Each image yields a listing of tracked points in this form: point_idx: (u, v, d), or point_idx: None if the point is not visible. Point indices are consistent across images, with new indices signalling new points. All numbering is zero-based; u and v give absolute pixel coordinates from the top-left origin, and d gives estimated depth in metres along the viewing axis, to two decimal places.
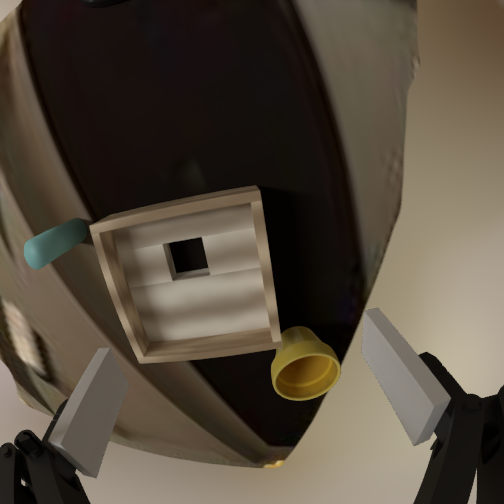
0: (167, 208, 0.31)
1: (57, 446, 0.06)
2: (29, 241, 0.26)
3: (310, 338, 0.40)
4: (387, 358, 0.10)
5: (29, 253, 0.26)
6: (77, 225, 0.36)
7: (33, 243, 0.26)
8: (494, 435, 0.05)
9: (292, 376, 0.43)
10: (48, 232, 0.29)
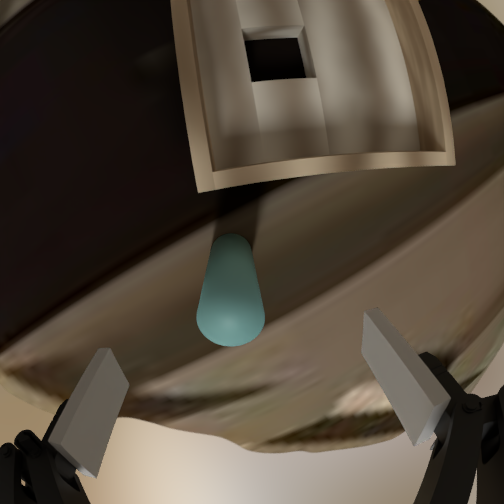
0: (177, 45, 0.15)
1: (57, 446, 0.06)
2: (201, 325, 0.16)
3: None
4: (387, 358, 0.10)
5: (228, 331, 0.16)
6: (216, 245, 0.25)
7: (206, 316, 0.16)
8: (494, 435, 0.05)
9: None
10: None
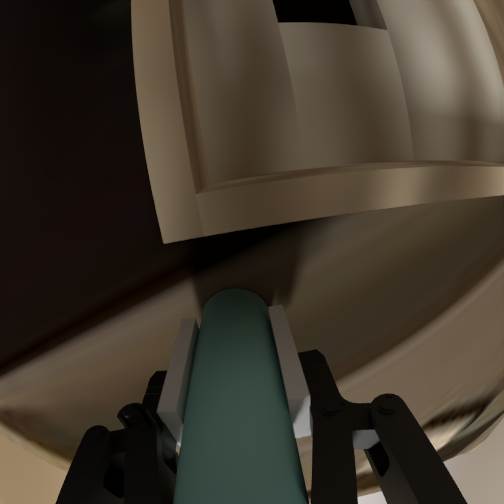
0: None
1: (168, 416, 0.08)
2: None
3: None
4: None
5: None
6: (209, 315, 0.14)
7: None
8: None
9: None
10: (183, 429, 0.08)
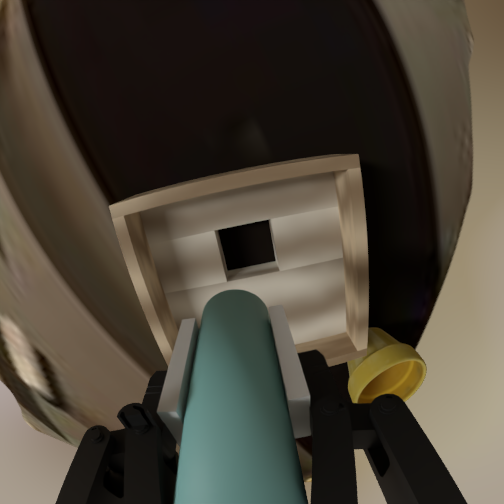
0: (232, 175, 0.22)
1: (168, 416, 0.08)
2: None
3: (392, 341, 0.31)
4: (276, 351, 0.12)
5: None
6: (209, 316, 0.14)
7: None
8: None
9: (366, 387, 0.33)
10: (183, 430, 0.08)
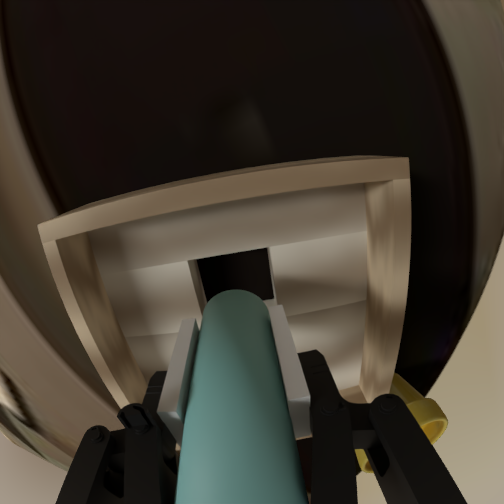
0: (210, 182, 0.13)
1: (168, 416, 0.08)
2: None
3: (411, 393, 0.22)
4: None
5: None
6: (209, 316, 0.14)
7: None
8: None
9: None
10: (183, 430, 0.08)
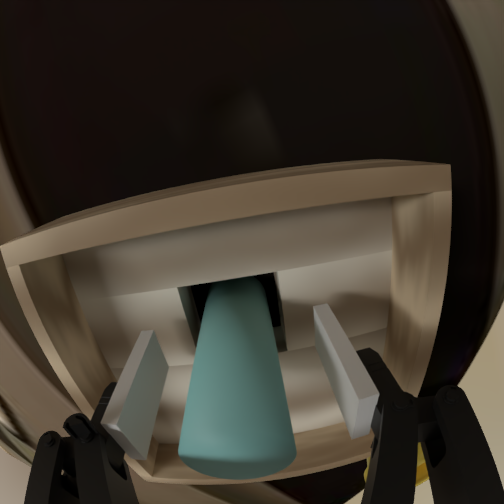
0: (200, 194, 0.10)
1: (111, 428, 0.08)
2: (188, 461, 0.07)
3: None
4: (329, 351, 0.11)
5: (233, 468, 0.08)
6: (214, 293, 0.16)
7: (194, 454, 0.07)
8: (441, 436, 0.07)
9: None
10: None
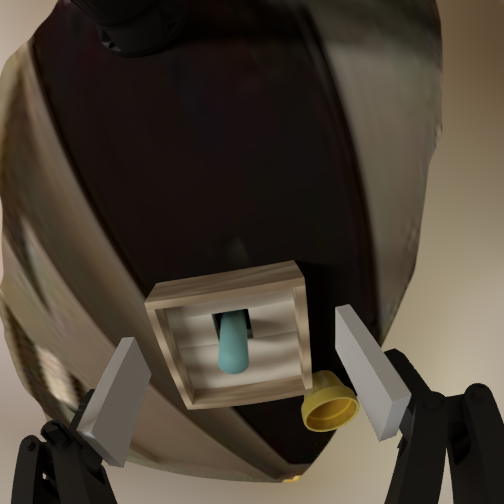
0: (222, 292, 0.36)
1: (86, 435, 0.07)
2: (220, 365, 0.34)
3: (334, 382, 0.45)
4: (354, 353, 0.11)
5: (232, 368, 0.34)
6: (224, 315, 0.43)
7: (222, 361, 0.33)
8: (466, 434, 0.06)
9: (317, 411, 0.47)
10: (219, 344, 0.37)
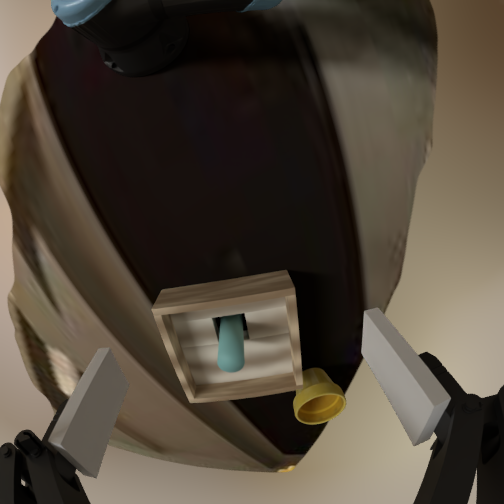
0: (221, 300, 0.40)
1: (57, 446, 0.06)
2: (219, 364, 0.38)
3: (323, 379, 0.50)
4: (387, 358, 0.10)
5: (230, 367, 0.38)
6: (223, 319, 0.47)
7: (221, 361, 0.38)
8: (494, 435, 0.05)
9: (308, 405, 0.52)
10: (218, 346, 0.41)
